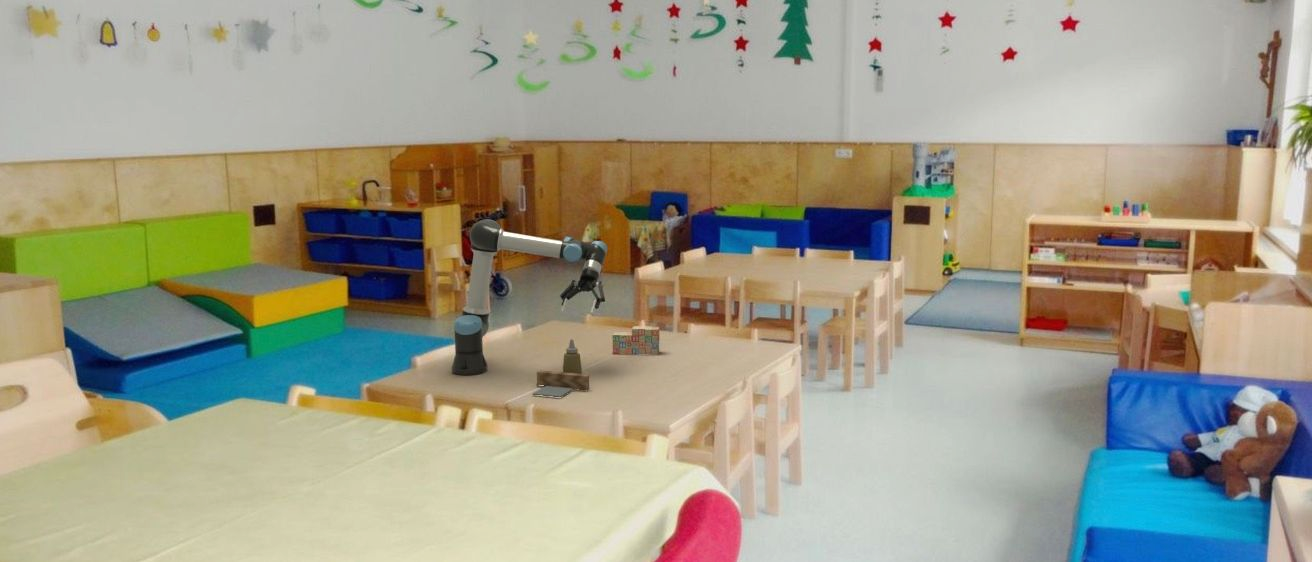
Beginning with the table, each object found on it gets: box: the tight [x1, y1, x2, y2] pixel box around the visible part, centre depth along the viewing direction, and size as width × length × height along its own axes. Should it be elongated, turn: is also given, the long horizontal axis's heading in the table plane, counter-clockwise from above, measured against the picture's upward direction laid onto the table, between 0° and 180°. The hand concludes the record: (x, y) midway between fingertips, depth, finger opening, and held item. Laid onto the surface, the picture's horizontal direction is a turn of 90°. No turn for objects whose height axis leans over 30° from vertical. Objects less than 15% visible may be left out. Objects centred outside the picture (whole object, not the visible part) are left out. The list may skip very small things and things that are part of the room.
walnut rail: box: [536, 369, 590, 391], centre depth 394 cm, size 22×3×6 cm, turn 70°
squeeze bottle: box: [562, 339, 583, 374], centre depth 401 cm, size 8×8×18 cm
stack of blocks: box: [612, 325, 660, 356], centre depth 452 cm, size 21×6×12 cm, turn 85°
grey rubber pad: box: [532, 386, 574, 398], centre depth 386 cm, size 12×12×1 cm
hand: (577, 313), depth 411 cm, fingers open, 13 cm apart
